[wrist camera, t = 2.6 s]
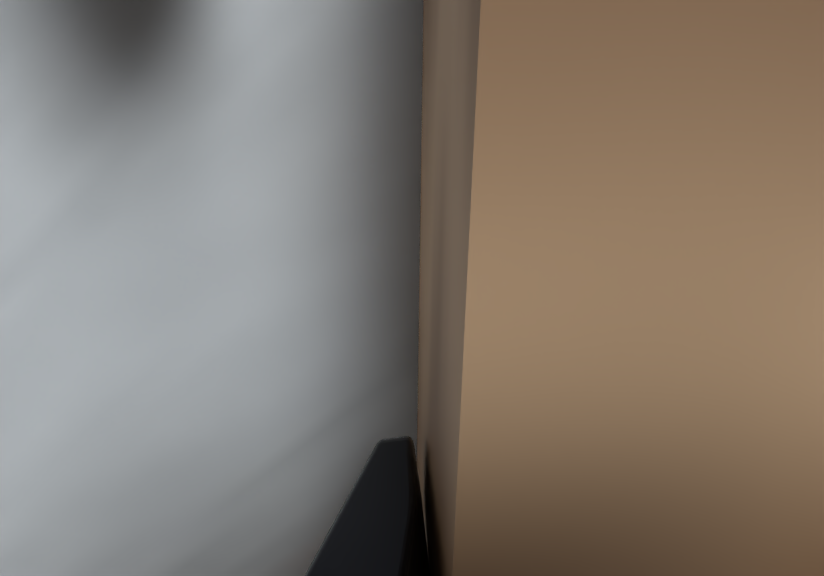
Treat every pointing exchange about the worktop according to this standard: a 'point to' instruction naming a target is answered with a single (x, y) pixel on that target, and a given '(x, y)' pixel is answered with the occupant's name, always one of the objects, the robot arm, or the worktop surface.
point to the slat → (622, 288)
